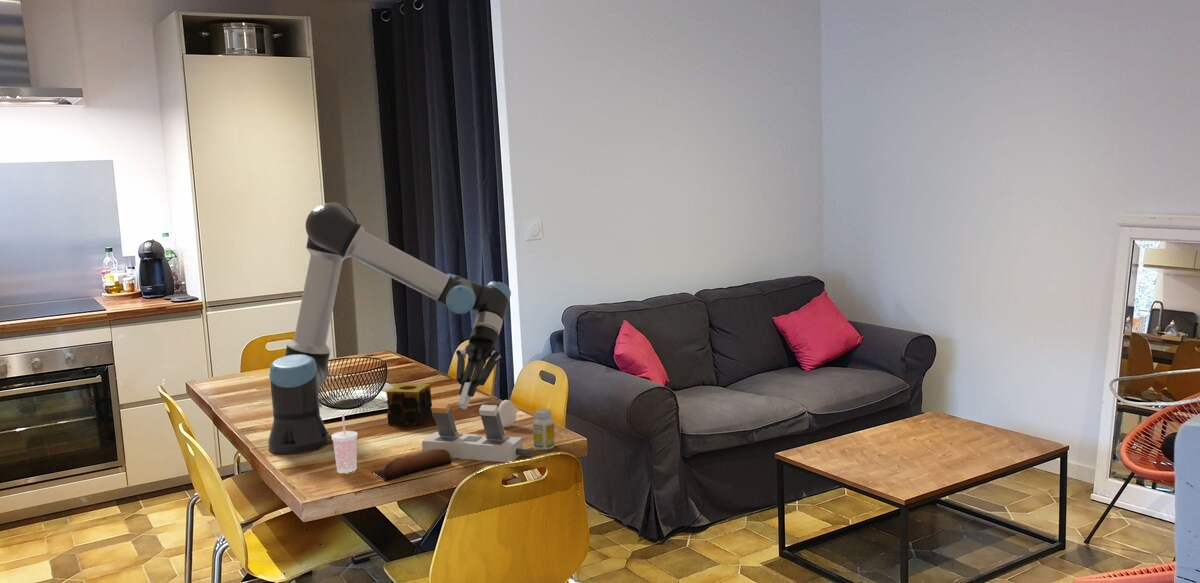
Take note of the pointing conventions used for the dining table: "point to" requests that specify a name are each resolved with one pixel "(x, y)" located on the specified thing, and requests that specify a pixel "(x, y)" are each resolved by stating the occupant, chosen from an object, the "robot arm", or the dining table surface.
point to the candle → (409, 404)
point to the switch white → (492, 422)
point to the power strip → (478, 447)
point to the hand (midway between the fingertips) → (462, 406)
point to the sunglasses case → (413, 463)
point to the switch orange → (444, 419)
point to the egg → (507, 413)
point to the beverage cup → (345, 449)
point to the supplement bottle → (543, 430)
